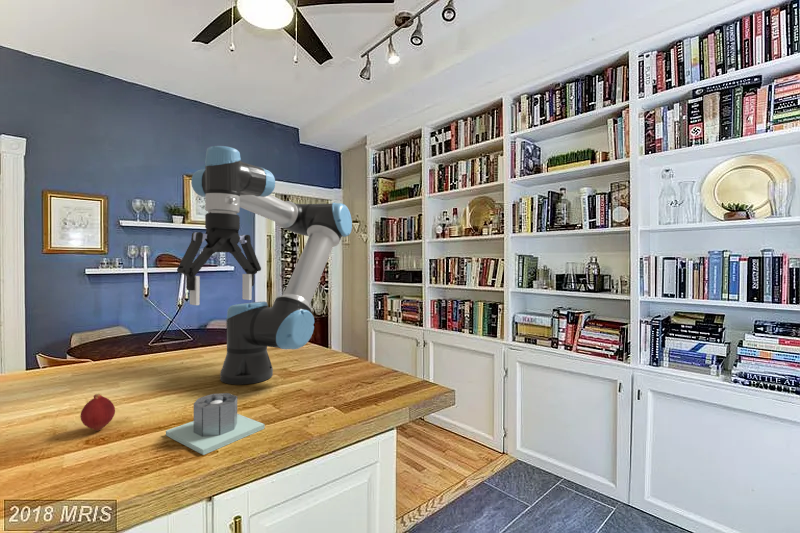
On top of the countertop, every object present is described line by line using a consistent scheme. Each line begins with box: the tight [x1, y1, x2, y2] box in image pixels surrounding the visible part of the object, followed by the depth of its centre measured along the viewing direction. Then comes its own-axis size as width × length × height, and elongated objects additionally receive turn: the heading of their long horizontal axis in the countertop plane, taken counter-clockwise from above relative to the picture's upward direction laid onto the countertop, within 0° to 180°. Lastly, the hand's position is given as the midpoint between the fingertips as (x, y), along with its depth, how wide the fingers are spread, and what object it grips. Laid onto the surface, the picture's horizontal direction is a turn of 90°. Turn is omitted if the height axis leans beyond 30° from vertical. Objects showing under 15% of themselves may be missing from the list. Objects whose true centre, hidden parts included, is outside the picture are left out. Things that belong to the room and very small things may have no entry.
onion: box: [79, 393, 116, 432], centre depth 85 cm, size 6×6×8 cm
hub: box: [193, 392, 238, 437], centre depth 85 cm, size 8×8×6 cm
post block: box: [165, 400, 266, 456], centre depth 85 cm, size 14×14×6 cm
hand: (222, 302), depth 95 cm, fingers open, 13 cm apart
